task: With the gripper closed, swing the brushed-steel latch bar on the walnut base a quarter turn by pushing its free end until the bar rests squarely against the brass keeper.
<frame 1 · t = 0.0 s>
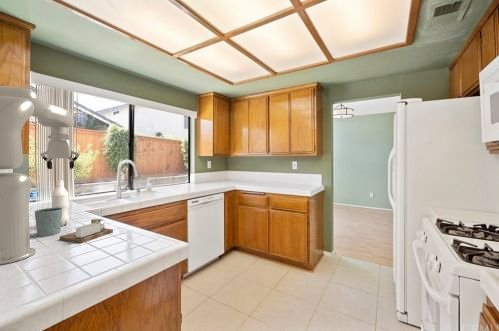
hand: (60, 168, 125), 31 cm above the countertop, tool pointing down, fingers open, 9 cm apart
lock base: (87, 235, 107), on the countertop
green plant pot: (49, 234, 110), on the countertop
water bottle: (61, 225, 124), on the countertop
latch bar: (91, 227, 105), point 5 cm above the countertop, hinge at 0.0°
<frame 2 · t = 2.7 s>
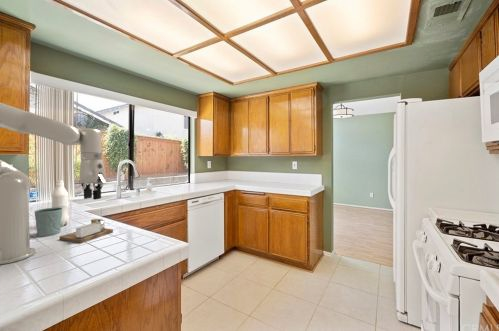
hand: (92, 198, 99), 19 cm above the countertop, tool pointing down, fingers open, 4 cm apart
nothing on the countertop moved.
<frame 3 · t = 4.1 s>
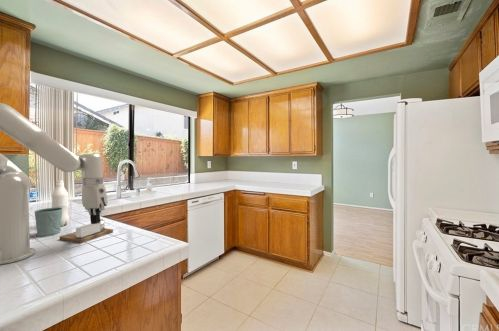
hand: (95, 223, 100), 8 cm above the countertop, tool pointing down, fingers closed
nothing on the countertop moved.
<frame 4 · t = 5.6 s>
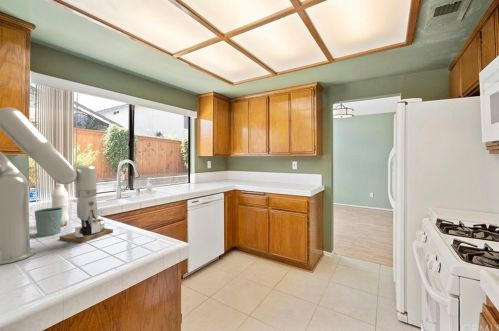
hand: (86, 234, 100), 3 cm above the countertop, tool pointing down, fingers closed
latch bar: (91, 227, 105), point 5 cm above the countertop, hinge at 4.1°, touching gripper
everything else where it was.
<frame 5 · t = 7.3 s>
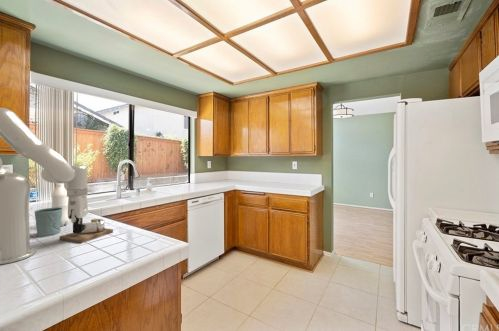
hand: (77, 232, 103), 3 cm above the countertop, tool pointing down, fingers closed
latch bar: (90, 225, 107), point 5 cm above the countertop, hinge at 51.4°, touching gripper
everything else where it was.
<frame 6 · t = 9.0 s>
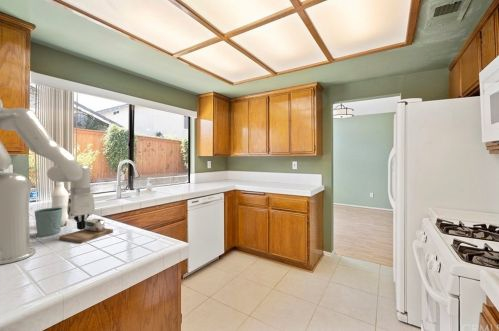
hand: (81, 229, 108), 3 cm above the countertop, tool pointing down, fingers closed
latch bar: (94, 224, 110), point 5 cm above the countertop, hinge at 92.0°, touching gripper, lock base
everything else where it was.
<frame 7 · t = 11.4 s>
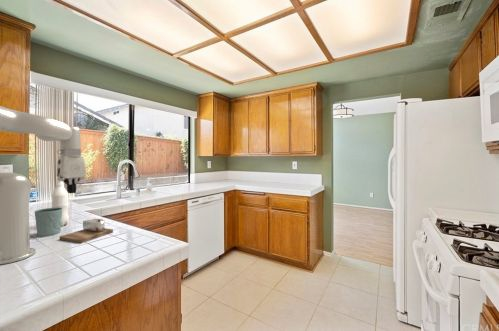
hand: (71, 192, 104), 21 cm above the countertop, tool pointing down, fingers closed
latch bar: (94, 224, 110), point 5 cm above the countertop, hinge at 92.0°
everything else where it was.
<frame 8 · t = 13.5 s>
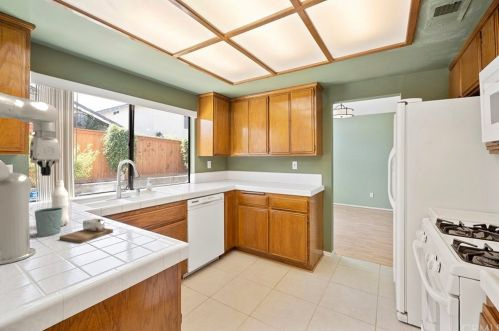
hand: (46, 175, 104), 29 cm above the countertop, tool pointing down, fingers closed
nothing on the countertop moved.
at the end: latch bar at +92° (first picture: +0°) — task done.
